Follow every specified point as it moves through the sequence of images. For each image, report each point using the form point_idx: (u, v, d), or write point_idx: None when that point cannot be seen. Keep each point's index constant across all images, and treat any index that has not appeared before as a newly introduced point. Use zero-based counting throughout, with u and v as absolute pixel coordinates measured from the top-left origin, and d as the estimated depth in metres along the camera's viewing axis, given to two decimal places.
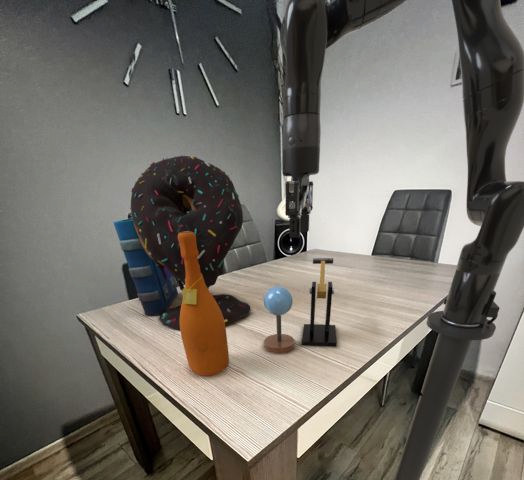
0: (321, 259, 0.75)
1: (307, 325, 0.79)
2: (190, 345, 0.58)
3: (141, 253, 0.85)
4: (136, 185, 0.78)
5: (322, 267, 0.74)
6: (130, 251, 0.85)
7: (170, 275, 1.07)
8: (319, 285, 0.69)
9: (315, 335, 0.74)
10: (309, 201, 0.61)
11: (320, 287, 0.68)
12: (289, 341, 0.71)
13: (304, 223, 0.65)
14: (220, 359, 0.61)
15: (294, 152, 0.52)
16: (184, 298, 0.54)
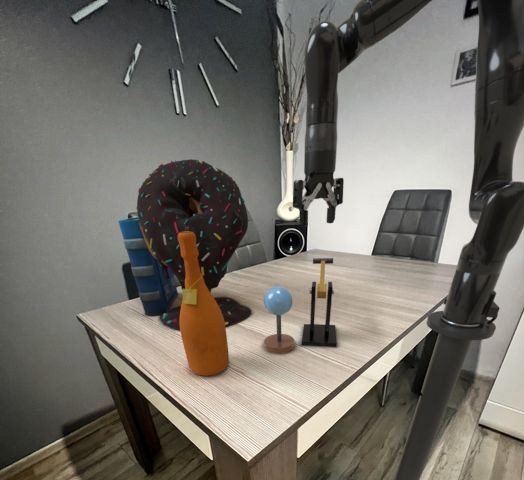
0: (321, 259, 0.75)
1: (307, 325, 0.79)
2: (190, 345, 0.58)
3: (145, 252, 0.86)
4: (143, 185, 0.79)
5: (322, 267, 0.74)
6: (134, 250, 0.85)
7: (171, 276, 1.07)
8: (319, 285, 0.69)
9: (315, 335, 0.74)
10: (329, 196, 0.70)
11: (320, 287, 0.68)
12: (289, 341, 0.71)
13: (329, 215, 0.74)
14: (220, 359, 0.61)
15: (306, 156, 0.64)
16: (184, 298, 0.54)
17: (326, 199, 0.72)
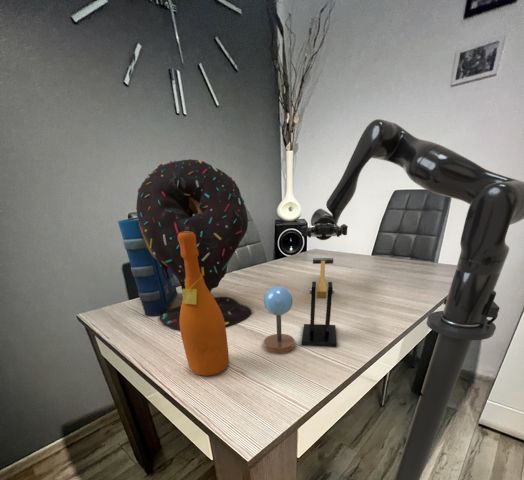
0: (321, 259, 0.75)
1: (307, 325, 0.79)
2: (190, 345, 0.58)
3: (144, 252, 0.86)
4: (143, 185, 0.78)
5: (322, 267, 0.74)
6: (134, 251, 0.85)
7: (171, 276, 1.07)
8: (319, 285, 0.69)
9: (315, 335, 0.74)
10: (332, 225, 0.87)
11: (320, 287, 0.68)
12: (289, 341, 0.71)
13: None
14: (220, 359, 0.61)
15: None
16: (184, 298, 0.54)
17: (333, 232, 0.87)
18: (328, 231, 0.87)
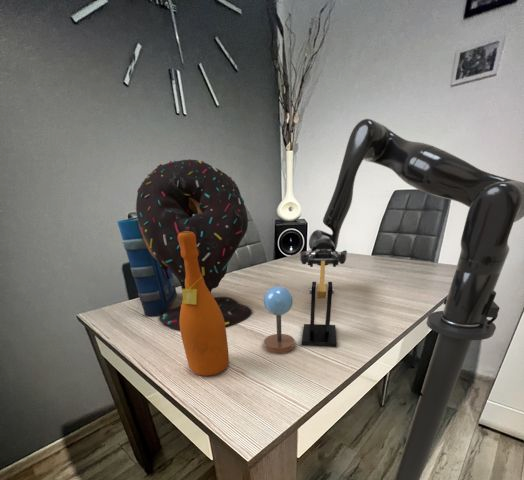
0: (321, 259, 0.75)
1: (307, 325, 0.79)
2: (190, 345, 0.58)
3: (144, 253, 0.85)
4: (143, 185, 0.78)
5: (322, 267, 0.74)
6: (134, 251, 0.84)
7: (170, 276, 1.07)
8: (319, 285, 0.69)
9: (315, 335, 0.74)
10: (329, 252, 0.78)
11: (320, 287, 0.68)
12: (289, 341, 0.71)
13: (333, 260, 0.75)
14: (220, 359, 0.61)
15: None
16: (184, 298, 0.54)
17: None
18: None
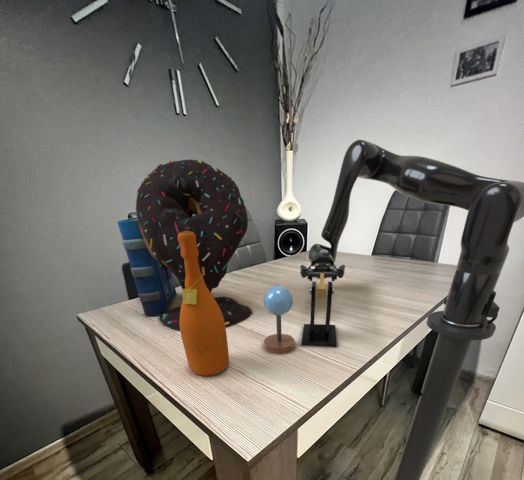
0: (320, 272, 0.78)
1: (307, 325, 0.79)
2: (190, 345, 0.58)
3: (144, 253, 0.85)
4: (142, 185, 0.78)
5: (321, 277, 0.76)
6: (134, 251, 0.84)
7: (170, 276, 1.07)
8: (319, 285, 0.69)
9: (315, 335, 0.74)
10: (328, 266, 0.82)
11: (320, 286, 0.69)
12: (289, 341, 0.71)
13: None
14: (220, 359, 0.61)
15: None
16: (184, 298, 0.54)
17: None
18: None
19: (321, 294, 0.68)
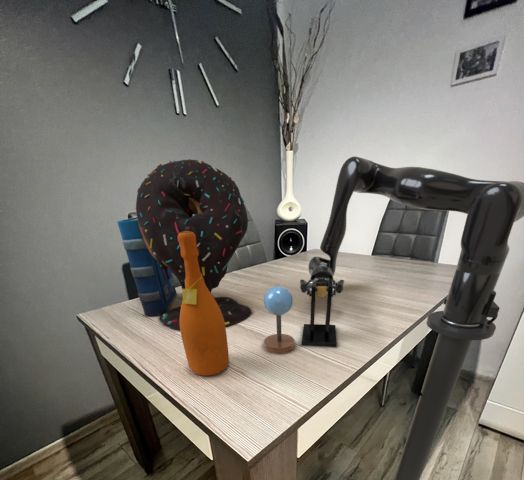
0: None
1: (307, 325, 0.79)
2: (190, 345, 0.58)
3: (144, 253, 0.85)
4: (142, 185, 0.78)
5: None
6: (134, 251, 0.84)
7: (170, 276, 1.07)
8: None
9: (315, 335, 0.74)
10: (327, 281, 0.83)
11: None
12: (289, 341, 0.71)
13: None
14: (220, 359, 0.61)
15: None
16: (184, 298, 0.54)
17: None
18: None
19: (321, 292, 0.68)
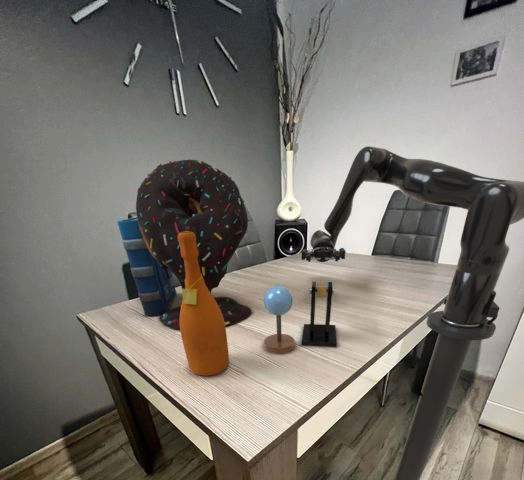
0: None
1: (307, 325, 0.79)
2: (190, 345, 0.58)
3: (144, 253, 0.85)
4: (142, 186, 0.78)
5: None
6: (134, 251, 0.84)
7: (170, 276, 1.07)
8: None
9: (315, 335, 0.74)
10: (330, 249, 0.91)
11: None
12: (289, 341, 0.71)
13: (335, 256, 0.87)
14: (220, 359, 0.61)
15: None
16: (184, 298, 0.54)
17: (332, 256, 0.91)
18: (327, 255, 0.91)
19: (321, 292, 0.68)
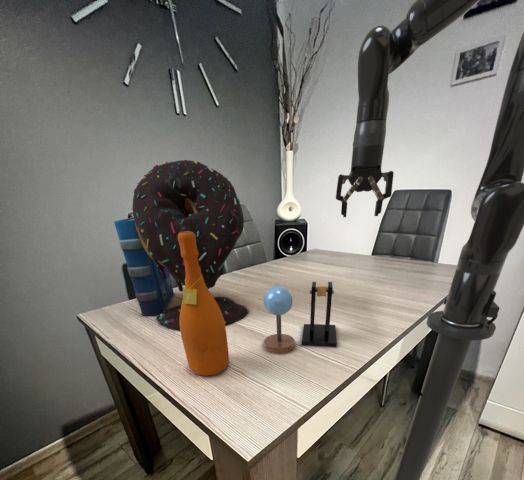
0: None
1: (307, 325, 0.79)
2: (190, 345, 0.58)
3: (141, 252, 0.86)
4: (139, 186, 0.79)
5: None
6: (130, 251, 0.85)
7: (167, 276, 1.07)
8: None
9: (315, 335, 0.74)
10: (373, 189, 0.72)
11: None
12: (289, 341, 0.71)
13: (375, 208, 0.75)
14: (220, 359, 0.61)
15: (352, 152, 0.71)
16: (184, 298, 0.54)
17: (374, 192, 0.74)
18: None
19: (321, 292, 0.68)
